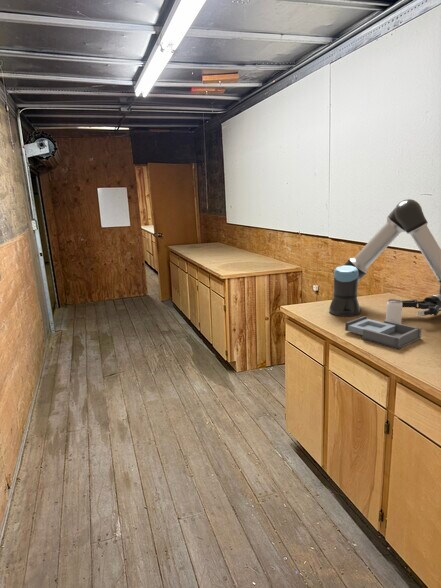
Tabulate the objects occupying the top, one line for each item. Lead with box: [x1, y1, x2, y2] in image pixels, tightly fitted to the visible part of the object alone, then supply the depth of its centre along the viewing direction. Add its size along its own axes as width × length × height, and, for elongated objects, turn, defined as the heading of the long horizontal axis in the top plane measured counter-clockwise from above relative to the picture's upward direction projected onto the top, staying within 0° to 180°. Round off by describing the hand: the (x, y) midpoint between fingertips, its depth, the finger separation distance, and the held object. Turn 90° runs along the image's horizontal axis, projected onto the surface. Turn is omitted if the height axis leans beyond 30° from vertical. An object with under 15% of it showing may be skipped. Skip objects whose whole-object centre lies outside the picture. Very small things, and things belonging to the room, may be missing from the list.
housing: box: [361, 319, 422, 351], centre depth 163 cm, size 16×18×4 cm
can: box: [385, 298, 403, 324], centre depth 177 cm, size 6×6×12 cm
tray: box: [344, 315, 396, 336], centre depth 170 cm, size 15×14×4 cm
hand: (405, 310), depth 180 cm, fingers open, 13 cm apart
